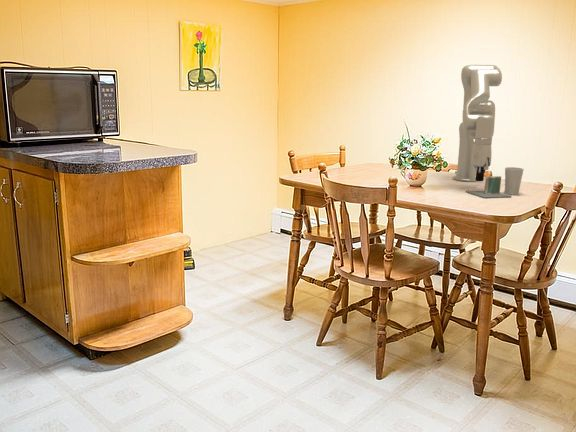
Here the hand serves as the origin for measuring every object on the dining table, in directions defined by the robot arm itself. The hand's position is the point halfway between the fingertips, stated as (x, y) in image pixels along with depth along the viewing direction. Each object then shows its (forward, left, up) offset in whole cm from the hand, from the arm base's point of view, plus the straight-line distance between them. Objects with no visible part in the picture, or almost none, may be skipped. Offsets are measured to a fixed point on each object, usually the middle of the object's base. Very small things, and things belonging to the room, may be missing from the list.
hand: (479, 180), depth 254 cm
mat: (+8, 0, -5) cm, 9 cm away
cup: (+7, +13, -6) cm, 16 cm away
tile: (+8, -2, -1) cm, 8 cm away
